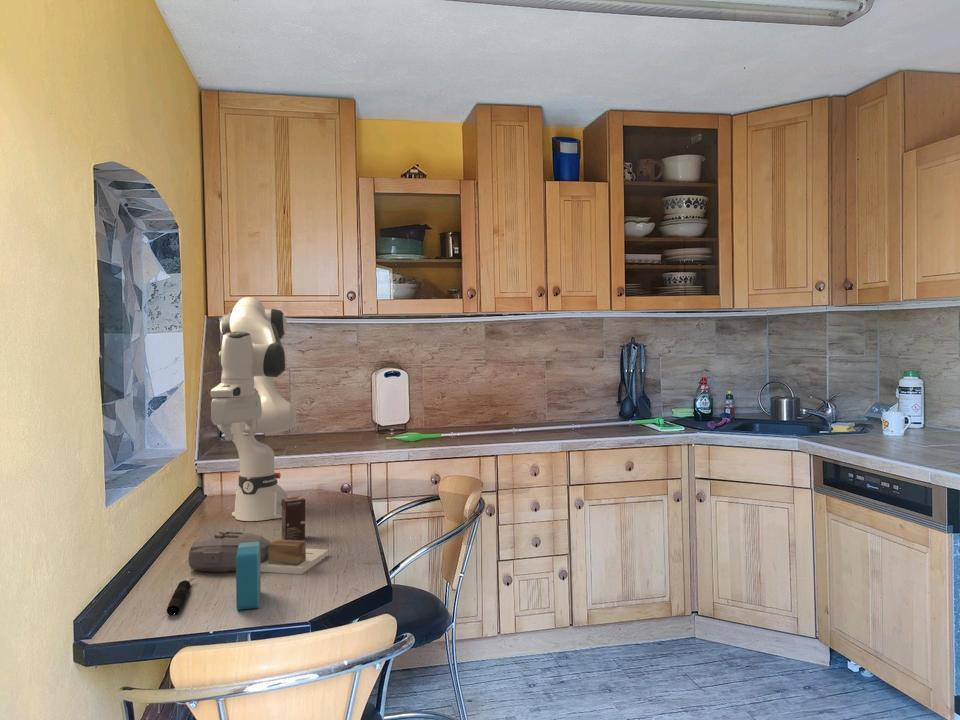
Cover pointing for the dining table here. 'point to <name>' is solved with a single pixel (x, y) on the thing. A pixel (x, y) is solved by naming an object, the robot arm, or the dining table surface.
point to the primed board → (311, 559)
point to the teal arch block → (248, 576)
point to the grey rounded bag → (223, 551)
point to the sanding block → (287, 552)
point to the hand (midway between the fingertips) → (238, 438)
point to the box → (293, 518)
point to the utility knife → (179, 596)
